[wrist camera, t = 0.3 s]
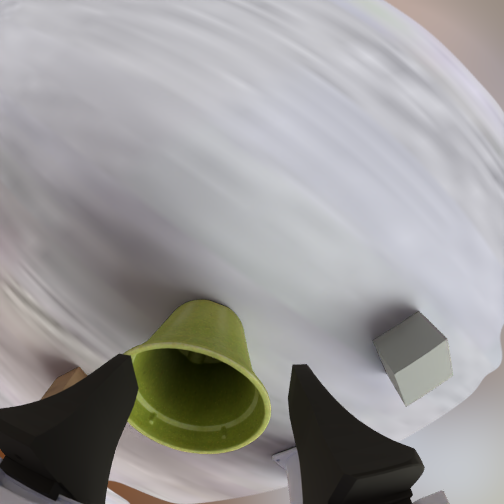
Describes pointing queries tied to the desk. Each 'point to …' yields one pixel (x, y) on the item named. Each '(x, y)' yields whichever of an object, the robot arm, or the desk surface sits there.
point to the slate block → (415, 357)
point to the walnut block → (65, 382)
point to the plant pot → (198, 383)
